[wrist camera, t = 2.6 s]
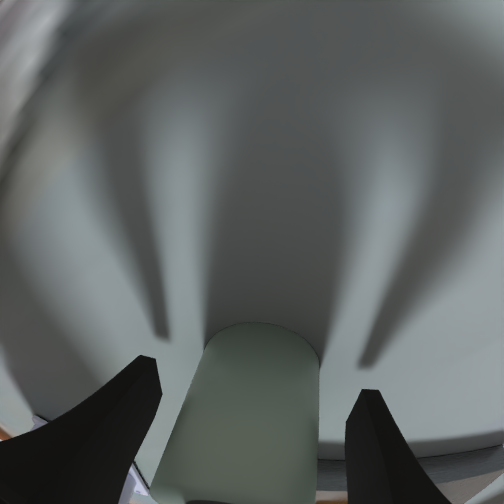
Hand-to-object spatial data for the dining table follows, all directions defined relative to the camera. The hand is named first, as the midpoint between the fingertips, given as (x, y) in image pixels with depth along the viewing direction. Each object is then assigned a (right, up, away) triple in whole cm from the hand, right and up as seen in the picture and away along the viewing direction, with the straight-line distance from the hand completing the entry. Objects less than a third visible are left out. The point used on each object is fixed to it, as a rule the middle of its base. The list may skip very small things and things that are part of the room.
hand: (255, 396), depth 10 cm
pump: (0, +1, +1) cm, 1 cm away
